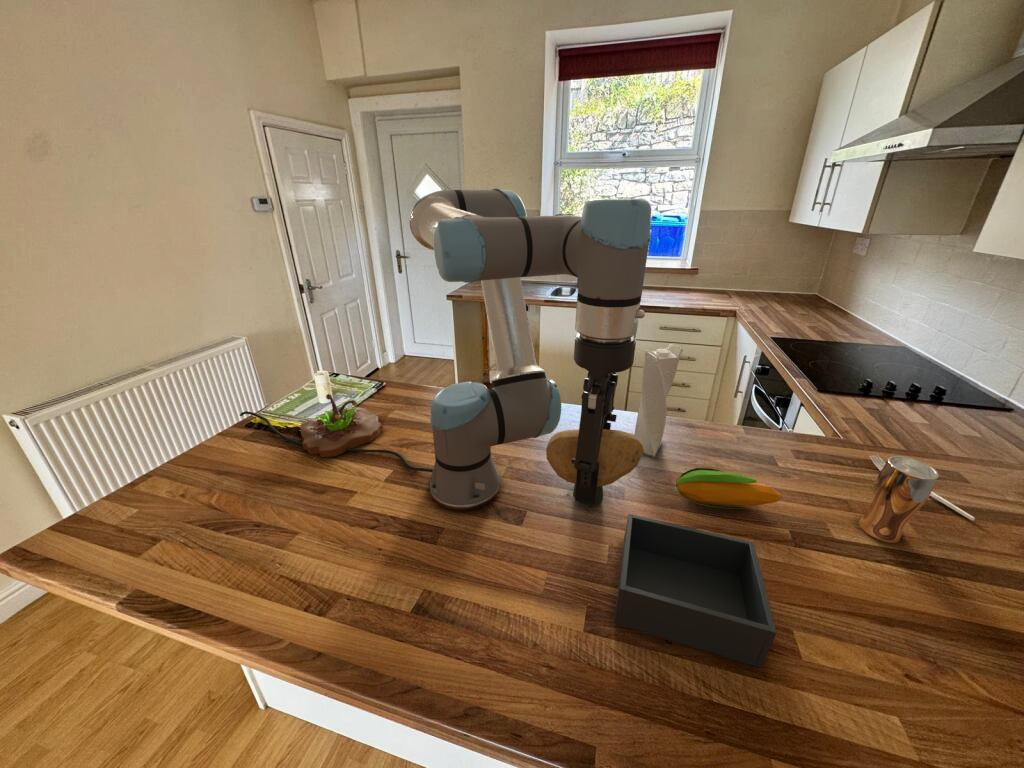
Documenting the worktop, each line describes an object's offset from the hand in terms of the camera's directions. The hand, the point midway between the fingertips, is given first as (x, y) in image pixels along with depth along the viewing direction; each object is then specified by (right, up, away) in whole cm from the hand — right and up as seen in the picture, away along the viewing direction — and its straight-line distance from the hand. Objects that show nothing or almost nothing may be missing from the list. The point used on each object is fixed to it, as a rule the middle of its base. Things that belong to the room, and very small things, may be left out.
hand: (592, 478), depth 59 cm
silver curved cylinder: (+58, -14, +17) cm, 62 cm away
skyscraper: (+22, -2, +42) cm, 47 cm away
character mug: (+4, -10, +25) cm, 28 cm away
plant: (-58, +1, +48) cm, 76 cm away
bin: (+15, -20, +5) cm, 26 cm away
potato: (0, 0, 0) cm, 0 cm away
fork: (+76, -9, +28) cm, 81 cm away
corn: (+32, -11, +24) cm, 42 cm away
